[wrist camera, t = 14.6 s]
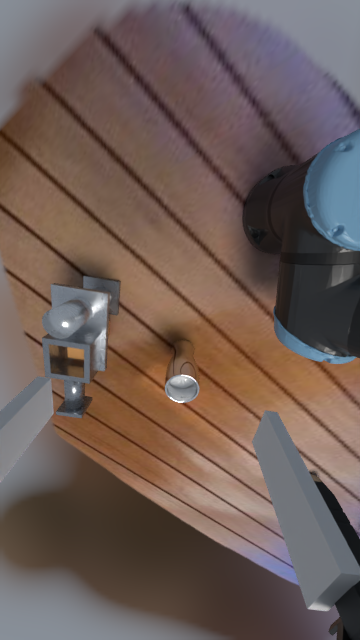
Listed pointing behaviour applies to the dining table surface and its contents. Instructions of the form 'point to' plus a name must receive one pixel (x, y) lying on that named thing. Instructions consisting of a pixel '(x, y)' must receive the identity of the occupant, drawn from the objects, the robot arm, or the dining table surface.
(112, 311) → the metal pedestal stand
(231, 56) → the dining table surface
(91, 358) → the bracket
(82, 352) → the tan wooden block
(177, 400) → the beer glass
